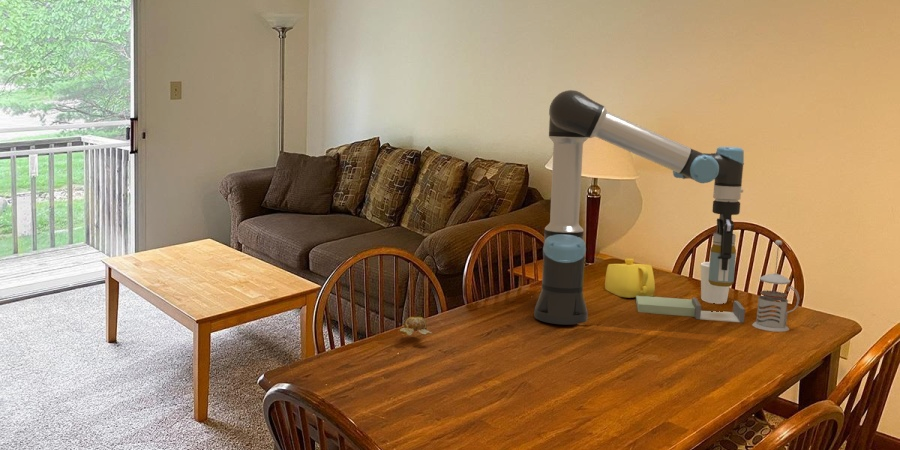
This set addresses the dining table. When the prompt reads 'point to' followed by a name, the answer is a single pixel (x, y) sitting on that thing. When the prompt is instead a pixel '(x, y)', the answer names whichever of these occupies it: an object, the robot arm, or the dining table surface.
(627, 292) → the teapot
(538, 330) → the dining table surface
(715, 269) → the bottle
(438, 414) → the dining table surface
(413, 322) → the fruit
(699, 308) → the green bar on base
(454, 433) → the dining table surface
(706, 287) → the cup
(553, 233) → the robot arm
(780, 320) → the french press
